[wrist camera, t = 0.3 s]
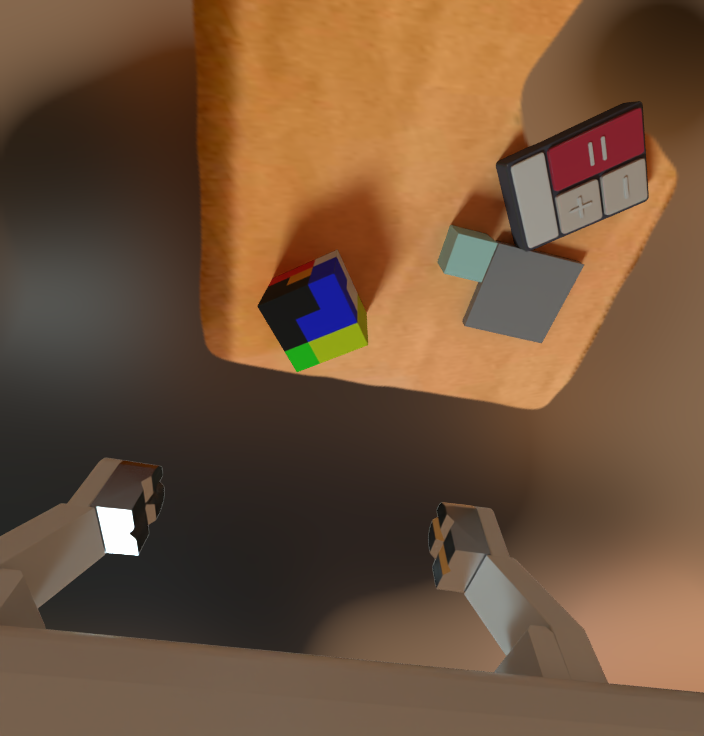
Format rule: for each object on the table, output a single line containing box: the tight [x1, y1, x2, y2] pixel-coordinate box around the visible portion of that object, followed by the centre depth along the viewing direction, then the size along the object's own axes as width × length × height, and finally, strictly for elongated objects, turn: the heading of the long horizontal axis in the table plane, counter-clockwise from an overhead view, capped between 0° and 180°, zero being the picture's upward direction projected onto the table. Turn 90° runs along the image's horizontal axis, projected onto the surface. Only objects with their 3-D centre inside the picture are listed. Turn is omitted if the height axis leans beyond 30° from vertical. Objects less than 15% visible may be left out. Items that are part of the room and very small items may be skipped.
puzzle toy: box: [258, 250, 368, 372], centre depth 53 cm, size 10×10×10 cm
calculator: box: [496, 101, 649, 252], centre depth 48 cm, size 11×4×15 cm
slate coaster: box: [462, 241, 584, 343], centre depth 56 cm, size 12×12×2 cm
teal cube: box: [438, 225, 498, 282], centre depth 52 cm, size 5×5×5 cm
